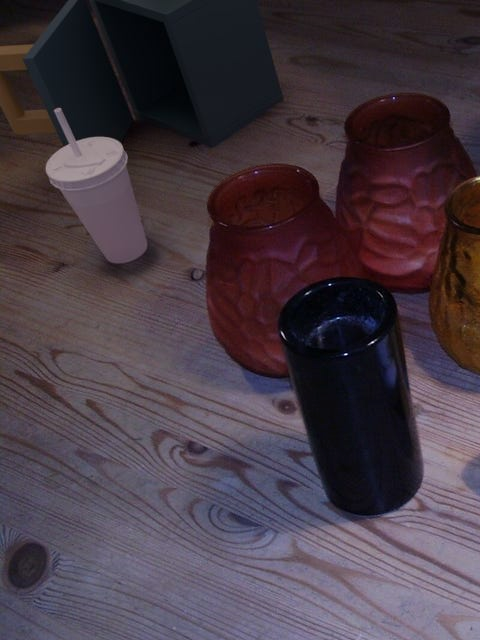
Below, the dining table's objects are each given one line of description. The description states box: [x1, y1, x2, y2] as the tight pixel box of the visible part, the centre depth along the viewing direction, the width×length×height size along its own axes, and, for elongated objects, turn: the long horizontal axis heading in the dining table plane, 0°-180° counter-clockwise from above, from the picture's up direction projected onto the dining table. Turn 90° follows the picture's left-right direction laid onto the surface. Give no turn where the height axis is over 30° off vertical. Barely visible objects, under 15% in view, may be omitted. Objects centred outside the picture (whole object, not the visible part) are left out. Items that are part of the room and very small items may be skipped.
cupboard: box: [88, 0, 285, 149], centre depth 98 cm, size 10×12×14 cm
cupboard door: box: [0, 0, 135, 147], centre depth 94 cm, size 6×12×14 cm, turn 175°
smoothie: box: [45, 108, 148, 264], centre depth 83 cm, size 6×6×14 cm
